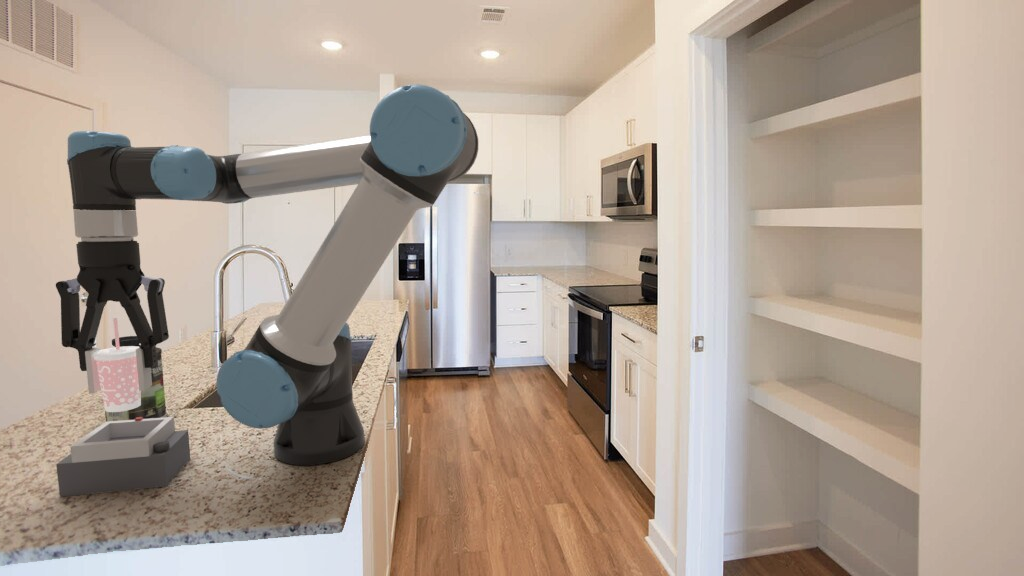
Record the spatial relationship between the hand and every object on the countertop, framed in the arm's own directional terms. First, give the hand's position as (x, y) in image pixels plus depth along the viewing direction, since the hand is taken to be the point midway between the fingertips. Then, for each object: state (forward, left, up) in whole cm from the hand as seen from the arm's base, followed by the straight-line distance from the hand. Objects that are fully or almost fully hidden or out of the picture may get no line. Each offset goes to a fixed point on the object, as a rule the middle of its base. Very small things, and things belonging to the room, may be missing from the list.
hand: (121, 389), depth 83 cm
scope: (+17, -42, -14) cm, 48 cm away
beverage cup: (0, 0, -3) cm, 3 cm away
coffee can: (+10, -27, -14) cm, 32 cm away
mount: (0, 0, -14) cm, 14 cm away
